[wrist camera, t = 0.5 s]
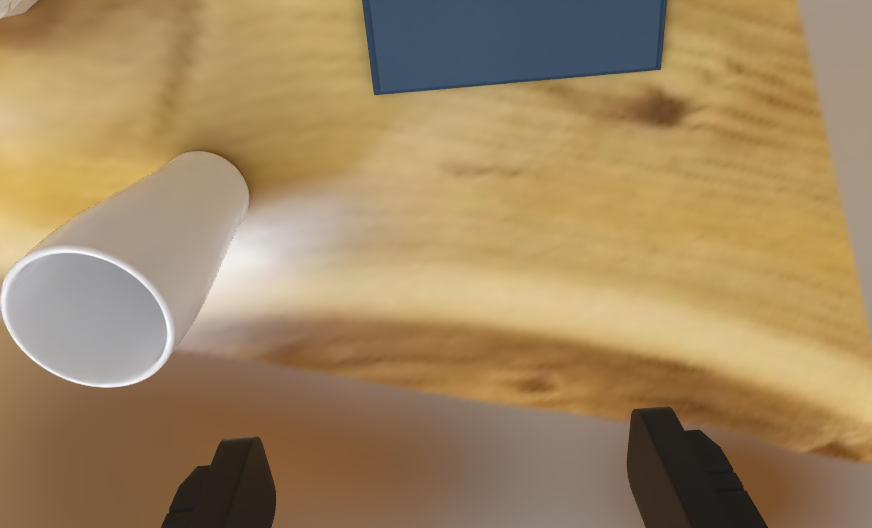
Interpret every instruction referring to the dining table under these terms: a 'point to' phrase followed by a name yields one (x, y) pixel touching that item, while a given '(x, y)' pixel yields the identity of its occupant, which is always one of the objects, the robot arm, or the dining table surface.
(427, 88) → the blue flat rectangular block
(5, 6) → the white cup
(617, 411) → the dining table surface
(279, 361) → the dining table surface
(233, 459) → the robot arm
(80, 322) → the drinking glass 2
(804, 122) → the dining table surface
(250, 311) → the dining table surface
